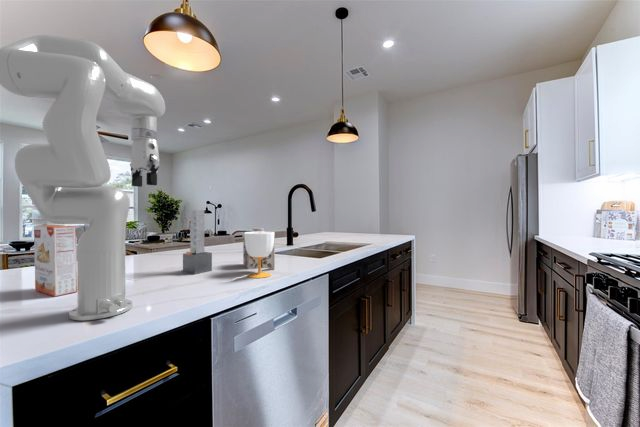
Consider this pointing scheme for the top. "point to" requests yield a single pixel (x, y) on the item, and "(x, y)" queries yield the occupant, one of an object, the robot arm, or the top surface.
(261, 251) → the cup
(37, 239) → the cracker box
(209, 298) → the top surface
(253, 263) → the decorative jar
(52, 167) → the robot arm
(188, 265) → the stand base
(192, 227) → the column
